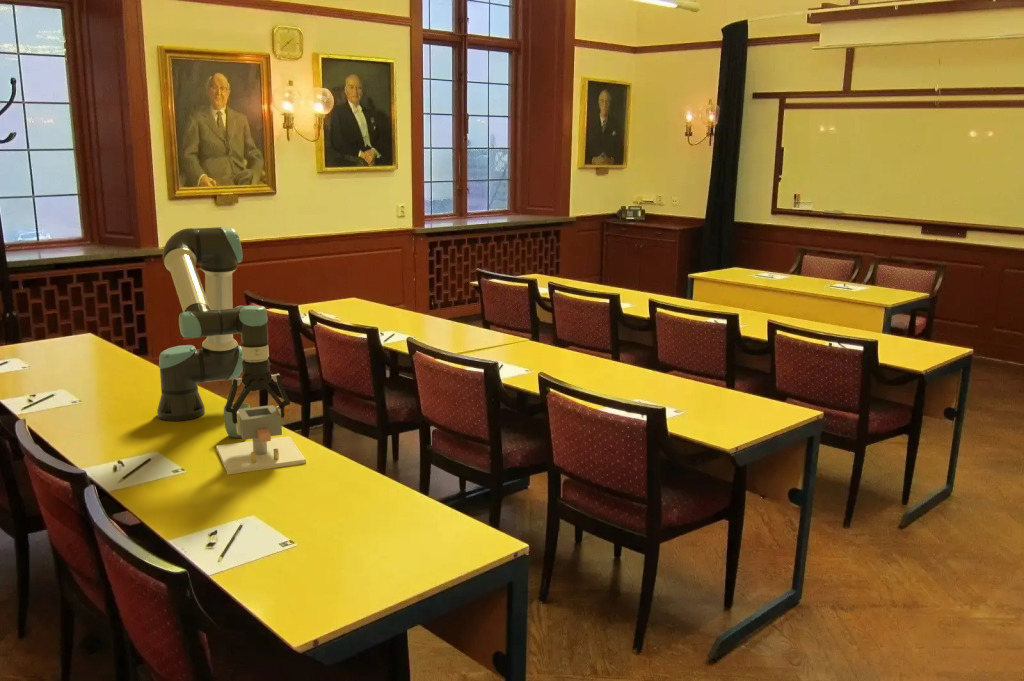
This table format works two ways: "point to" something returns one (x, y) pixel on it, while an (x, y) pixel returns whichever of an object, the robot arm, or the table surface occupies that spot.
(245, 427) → the grey hollow box
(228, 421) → the cup
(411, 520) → the table surface
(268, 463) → the post block
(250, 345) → the robot arm
